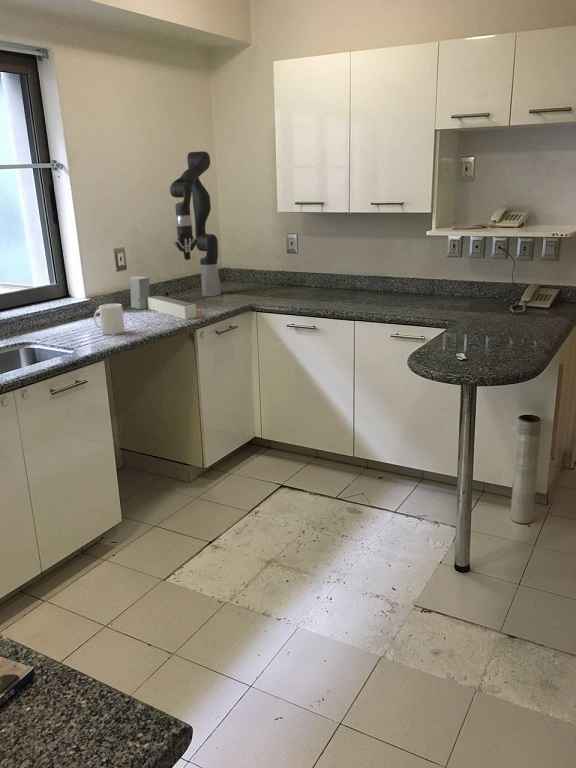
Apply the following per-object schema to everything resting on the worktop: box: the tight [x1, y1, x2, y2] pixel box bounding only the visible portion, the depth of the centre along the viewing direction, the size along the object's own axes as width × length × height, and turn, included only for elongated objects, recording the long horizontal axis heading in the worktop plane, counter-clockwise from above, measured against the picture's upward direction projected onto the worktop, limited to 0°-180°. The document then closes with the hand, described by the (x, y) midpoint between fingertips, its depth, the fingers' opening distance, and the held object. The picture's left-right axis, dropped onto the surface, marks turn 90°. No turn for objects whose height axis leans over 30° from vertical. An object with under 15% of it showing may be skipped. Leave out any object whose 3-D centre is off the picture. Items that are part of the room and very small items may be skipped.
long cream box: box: [148, 294, 203, 320], centre depth 316 cm, size 9×36×6 cm, turn 39°
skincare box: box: [129, 275, 151, 310], centre depth 329 cm, size 8×7×16 cm
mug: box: [93, 303, 125, 335], centre depth 278 cm, size 10×12×12 cm
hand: (187, 259), depth 328 cm, fingers closed
